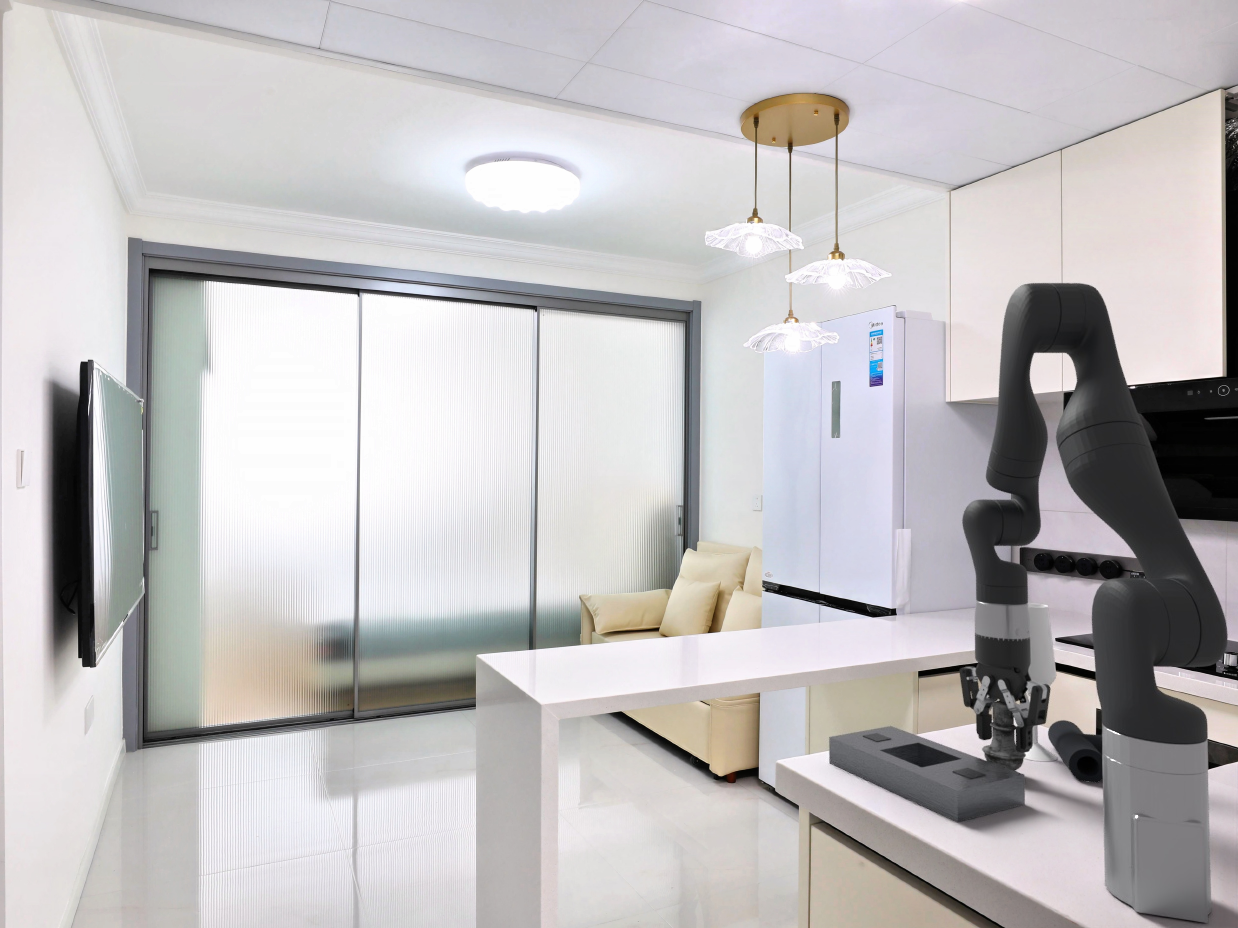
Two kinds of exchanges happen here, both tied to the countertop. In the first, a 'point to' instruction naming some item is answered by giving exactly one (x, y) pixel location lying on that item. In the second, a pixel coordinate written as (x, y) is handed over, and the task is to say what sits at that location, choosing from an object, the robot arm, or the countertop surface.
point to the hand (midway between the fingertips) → (1003, 744)
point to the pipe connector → (1078, 750)
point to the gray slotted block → (928, 772)
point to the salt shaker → (1003, 739)
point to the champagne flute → (1040, 667)
